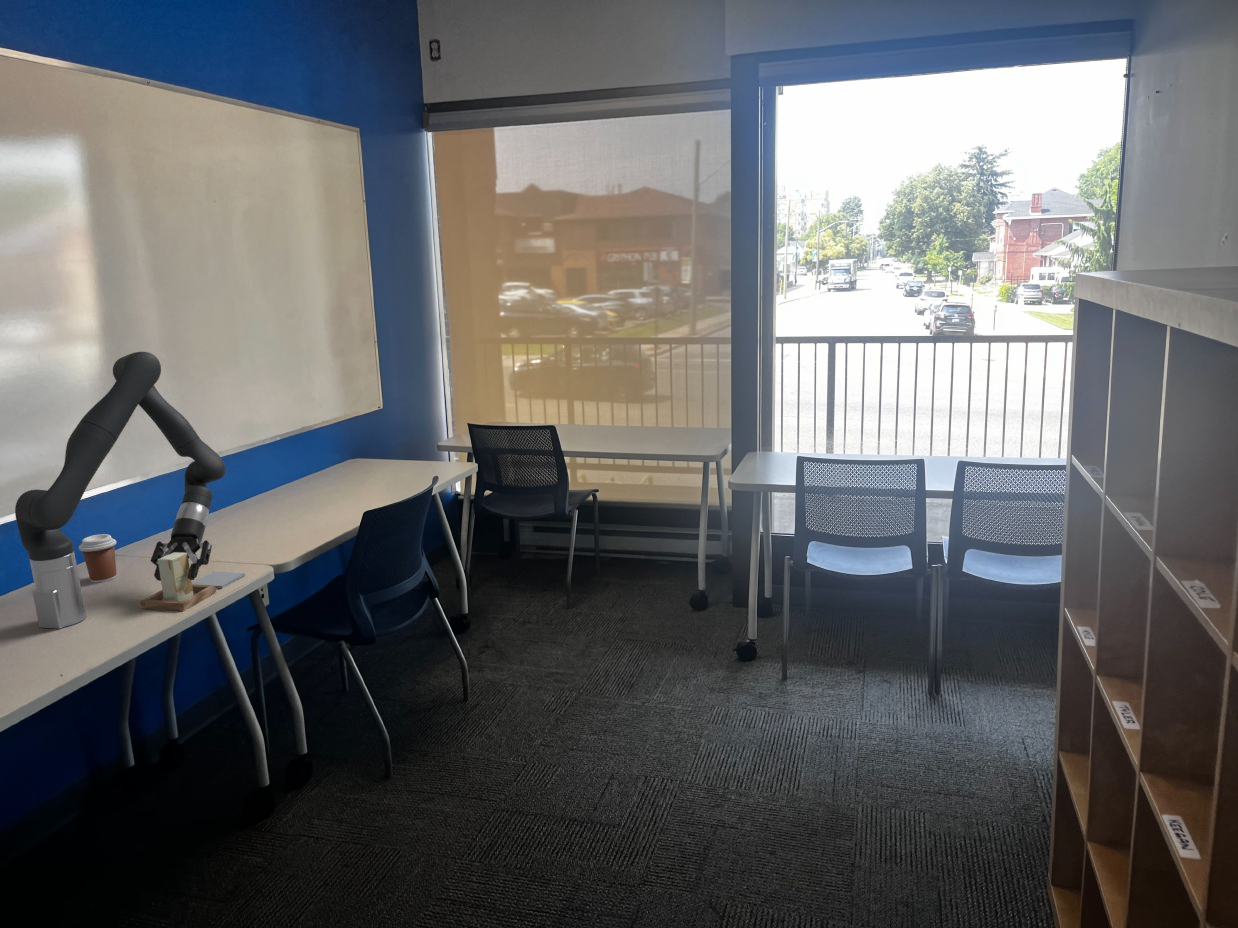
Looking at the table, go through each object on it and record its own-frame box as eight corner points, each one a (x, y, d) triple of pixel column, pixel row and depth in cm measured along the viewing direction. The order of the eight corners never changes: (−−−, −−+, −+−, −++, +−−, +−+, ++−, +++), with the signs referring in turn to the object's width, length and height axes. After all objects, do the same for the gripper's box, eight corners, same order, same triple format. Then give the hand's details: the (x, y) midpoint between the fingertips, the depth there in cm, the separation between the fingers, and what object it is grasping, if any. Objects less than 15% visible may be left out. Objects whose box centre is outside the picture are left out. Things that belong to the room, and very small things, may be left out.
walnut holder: (184, 610, 222) (183, 603, 221) (141, 608, 224) (140, 601, 224) (216, 592, 233) (215, 585, 233) (175, 590, 236) (174, 583, 236)
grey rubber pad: (222, 588, 236) (221, 585, 236) (189, 587, 238) (189, 584, 238) (245, 575, 246) (244, 572, 246) (213, 574, 248) (213, 571, 248)
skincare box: (178, 605, 225) (171, 560, 223) (163, 604, 226) (156, 559, 224) (195, 596, 232) (188, 551, 229) (180, 595, 232) (173, 551, 230)
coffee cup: (85, 576, 250) (78, 536, 247) (122, 570, 254) (115, 530, 251) (84, 586, 242) (76, 545, 239) (122, 580, 246) (114, 539, 243)
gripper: (157, 517, 232) (139, 573, 224) (210, 515, 232) (194, 572, 223) (171, 530, 239) (154, 585, 230) (222, 529, 238) (208, 584, 230)
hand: (174, 579), depth 227 cm, fingers open, 8 cm apart
